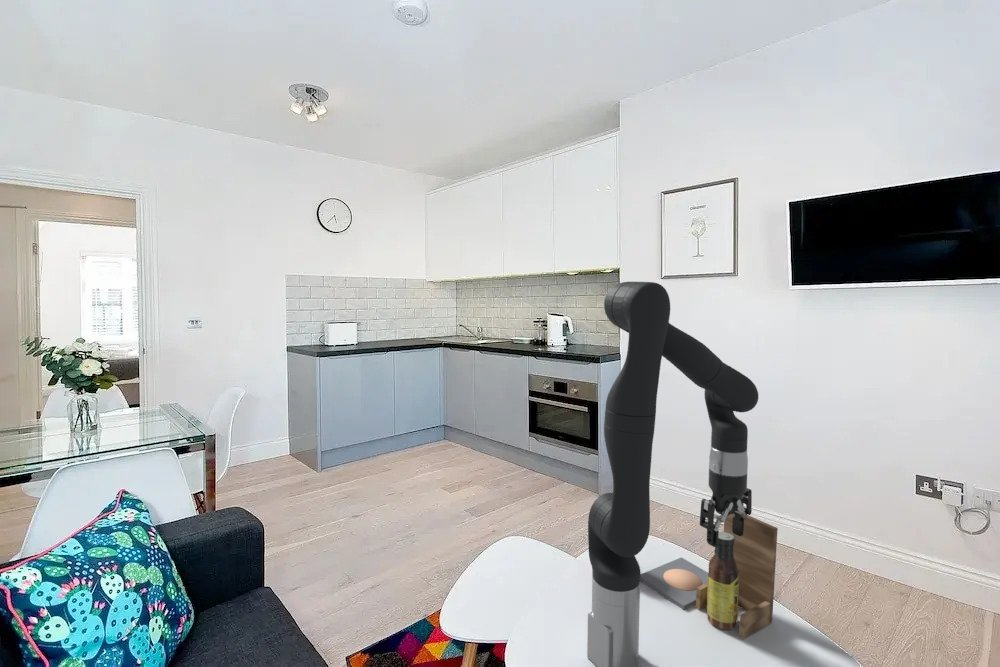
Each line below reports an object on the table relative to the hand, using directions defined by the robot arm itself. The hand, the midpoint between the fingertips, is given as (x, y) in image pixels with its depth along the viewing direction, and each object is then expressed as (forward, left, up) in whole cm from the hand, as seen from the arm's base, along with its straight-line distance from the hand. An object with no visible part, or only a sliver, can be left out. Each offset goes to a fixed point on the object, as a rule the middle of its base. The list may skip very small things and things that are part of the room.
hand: (725, 539), depth 110 cm
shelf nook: (+4, 0, -19) cm, 20 cm away
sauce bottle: (0, 0, -19) cm, 19 cm away
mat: (+4, +14, -19) cm, 24 cm away
